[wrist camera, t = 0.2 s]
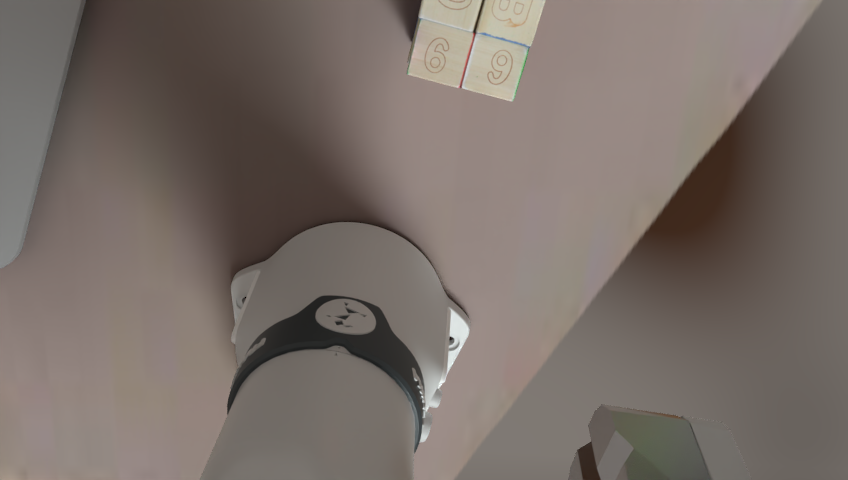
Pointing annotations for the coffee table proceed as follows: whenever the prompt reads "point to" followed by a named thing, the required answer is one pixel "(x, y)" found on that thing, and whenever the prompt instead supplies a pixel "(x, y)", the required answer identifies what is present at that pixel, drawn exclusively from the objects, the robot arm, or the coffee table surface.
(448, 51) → the stack of blocks
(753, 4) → the coffee table surface
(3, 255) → the tablet
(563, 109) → the coffee table surface
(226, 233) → the coffee table surface
